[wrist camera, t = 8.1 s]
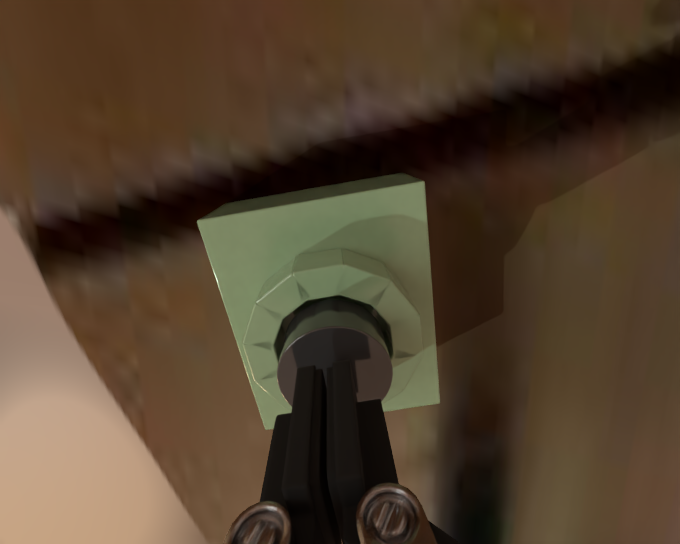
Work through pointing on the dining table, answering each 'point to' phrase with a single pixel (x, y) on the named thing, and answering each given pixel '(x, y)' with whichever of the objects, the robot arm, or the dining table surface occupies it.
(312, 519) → the robot arm
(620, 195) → the dining table surface
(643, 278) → the dining table surface
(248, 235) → the button base
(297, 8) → the dining table surface
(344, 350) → the dark round button cap
